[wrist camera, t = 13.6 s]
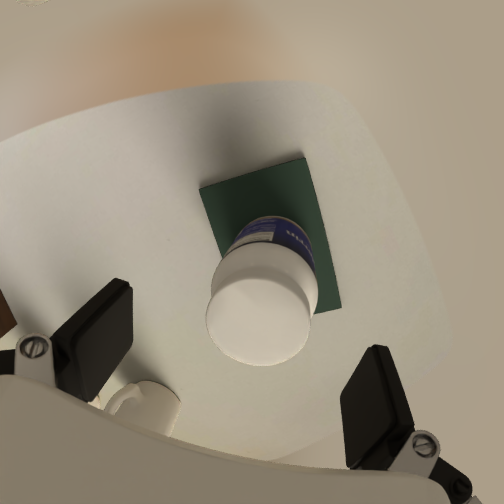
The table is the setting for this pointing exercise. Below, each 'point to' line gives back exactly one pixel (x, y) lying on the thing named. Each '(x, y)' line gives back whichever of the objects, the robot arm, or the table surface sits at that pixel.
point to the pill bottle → (264, 293)
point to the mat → (274, 204)
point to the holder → (5, 317)
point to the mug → (146, 406)
